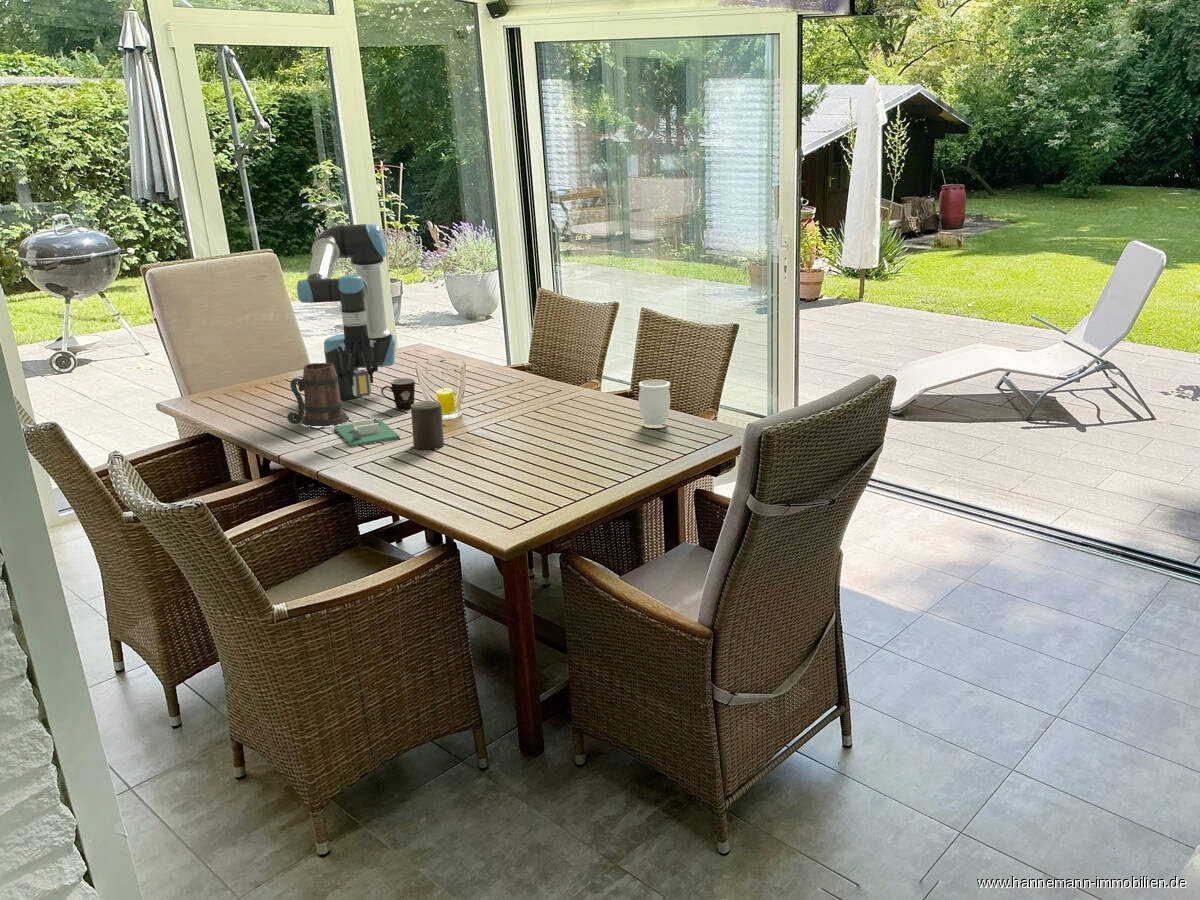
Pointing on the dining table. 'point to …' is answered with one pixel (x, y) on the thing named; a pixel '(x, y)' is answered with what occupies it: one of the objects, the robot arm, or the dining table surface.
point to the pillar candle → (427, 425)
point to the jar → (654, 401)
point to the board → (366, 432)
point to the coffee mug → (402, 392)
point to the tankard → (318, 397)
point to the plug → (362, 382)
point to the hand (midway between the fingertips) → (362, 393)
